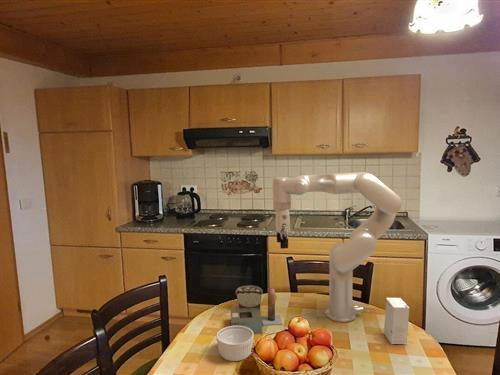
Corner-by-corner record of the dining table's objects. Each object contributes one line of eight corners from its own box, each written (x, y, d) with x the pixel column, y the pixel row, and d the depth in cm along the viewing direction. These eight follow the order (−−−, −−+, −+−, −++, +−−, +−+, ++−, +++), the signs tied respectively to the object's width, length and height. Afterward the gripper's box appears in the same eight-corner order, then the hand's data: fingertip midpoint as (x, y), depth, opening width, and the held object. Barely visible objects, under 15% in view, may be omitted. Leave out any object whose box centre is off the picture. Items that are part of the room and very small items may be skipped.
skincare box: (383, 334, 138) (384, 296, 136) (399, 333, 138) (400, 296, 136) (391, 345, 129) (393, 306, 128) (408, 345, 129) (409, 306, 128)
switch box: (259, 318, 151) (259, 307, 151) (262, 333, 140) (262, 320, 139) (230, 320, 150) (230, 308, 150) (231, 335, 139) (231, 322, 138)
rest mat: (279, 315, 154) (279, 314, 154) (282, 324, 146) (282, 323, 146) (260, 316, 153) (260, 315, 153) (263, 325, 146) (263, 324, 145)
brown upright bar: (274, 317, 151) (274, 287, 150) (275, 320, 148) (275, 290, 147) (267, 317, 151) (267, 288, 150) (268, 321, 148) (268, 291, 147)
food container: (264, 306, 164) (263, 285, 162) (263, 312, 157) (263, 290, 156) (237, 305, 165) (237, 284, 164) (235, 311, 159) (235, 289, 158)
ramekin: (212, 347, 130) (211, 329, 130) (245, 339, 135) (245, 322, 135) (224, 367, 118) (223, 348, 117) (260, 358, 123) (259, 339, 123)
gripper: (294, 209, 144) (295, 250, 146) (287, 202, 161) (287, 239, 163) (276, 209, 143) (276, 251, 145) (270, 203, 160) (270, 240, 162)
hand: (282, 245), depth 154 cm, fingers open, 9 cm apart
